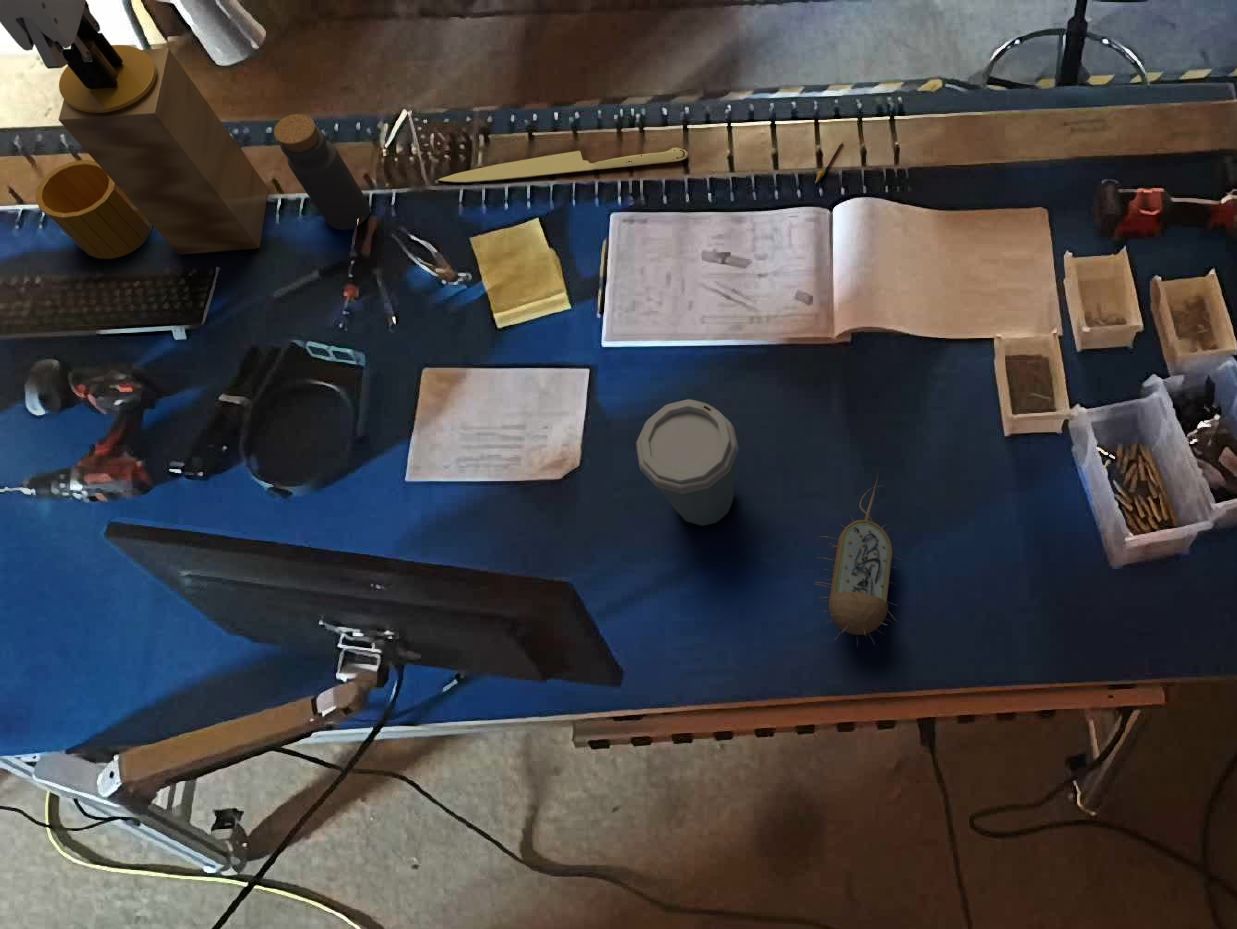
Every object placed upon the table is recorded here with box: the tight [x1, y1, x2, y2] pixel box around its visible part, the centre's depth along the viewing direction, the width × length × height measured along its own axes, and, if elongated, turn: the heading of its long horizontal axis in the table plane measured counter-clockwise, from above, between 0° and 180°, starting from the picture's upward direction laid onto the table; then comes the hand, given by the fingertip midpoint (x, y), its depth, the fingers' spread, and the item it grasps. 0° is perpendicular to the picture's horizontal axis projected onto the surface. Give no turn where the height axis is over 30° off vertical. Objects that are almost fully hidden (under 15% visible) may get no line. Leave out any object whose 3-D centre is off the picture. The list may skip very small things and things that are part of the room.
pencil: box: [814, 170, 826, 184], centre depth 145 cm, size 1×8×1 cm, turn 157°
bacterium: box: [815, 467, 903, 647], centre depth 116 cm, size 11×20×10 cm, turn 174°
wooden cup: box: [35, 159, 154, 260], centre depth 134 cm, size 9×9×8 cm
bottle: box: [273, 113, 371, 231], centre depth 133 cm, size 6×6×15 cm
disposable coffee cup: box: [635, 398, 739, 526], centre depth 117 cm, size 11×11×15 cm
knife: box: [437, 147, 689, 183], centre depth 144 cm, size 1×34×5 cm
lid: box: [58, 38, 156, 113], centre depth 115 cm, size 10×10×5 cm
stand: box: [58, 47, 270, 255], centre depth 128 cm, size 10×10×23 cm
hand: (105, 74), depth 117 cm, fingers closed on lid, 2 cm apart
